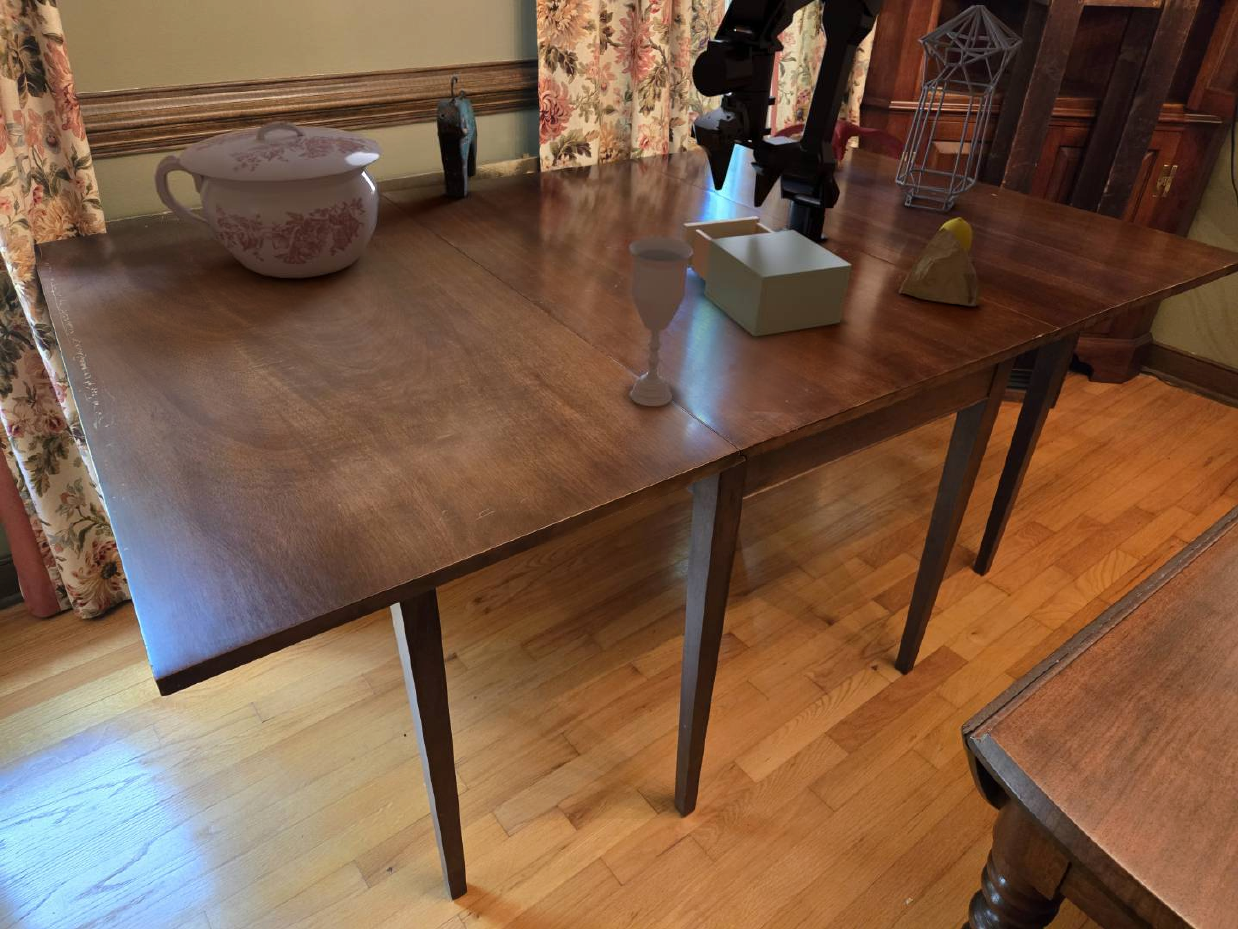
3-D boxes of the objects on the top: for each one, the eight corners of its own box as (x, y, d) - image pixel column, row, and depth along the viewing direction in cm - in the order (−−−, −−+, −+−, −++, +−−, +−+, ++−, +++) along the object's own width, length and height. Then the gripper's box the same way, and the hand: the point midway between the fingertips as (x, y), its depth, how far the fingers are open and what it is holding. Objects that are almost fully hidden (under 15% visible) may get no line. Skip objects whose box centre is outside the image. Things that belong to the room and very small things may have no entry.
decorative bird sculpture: (765, 179, 190) (771, 139, 175) (769, 143, 192) (776, 101, 177) (890, 190, 186) (907, 150, 172) (893, 153, 188) (911, 111, 174)
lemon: (966, 272, 135) (980, 224, 130) (931, 268, 135) (944, 220, 131) (961, 260, 139) (975, 213, 134) (928, 257, 140) (940, 210, 135)
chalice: (620, 380, 101) (626, 236, 90) (675, 379, 101) (687, 237, 91) (625, 411, 95) (632, 261, 84) (683, 411, 95) (698, 261, 85)
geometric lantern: (978, 203, 166) (1034, 6, 146) (959, 223, 155) (1017, 13, 135) (901, 188, 173) (945, -3, 153) (877, 207, 162) (921, 3, 142)
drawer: (666, 255, 133) (669, 213, 129) (736, 247, 138) (741, 206, 134) (720, 299, 120) (726, 254, 116) (796, 288, 124) (803, 244, 120)
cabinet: (704, 295, 123) (709, 239, 118) (784, 284, 128) (793, 229, 123) (754, 337, 112) (762, 277, 107) (840, 322, 117) (852, 264, 112)
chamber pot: (430, 251, 133) (417, 115, 121) (312, 313, 113) (282, 157, 101) (296, 220, 142) (271, 91, 130) (163, 274, 122) (119, 126, 110)
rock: (1001, 289, 123) (952, 258, 129) (997, 252, 116) (945, 221, 123) (945, 337, 124) (899, 304, 130) (937, 303, 117) (889, 270, 123)
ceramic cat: (468, 200, 155) (461, 85, 144) (434, 198, 155) (424, 83, 144) (484, 170, 171) (479, 65, 160) (453, 169, 171) (445, 64, 160)
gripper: (666, 80, 120) (659, 188, 128) (751, 106, 107) (736, 224, 116) (725, 74, 125) (714, 179, 134) (812, 99, 112) (794, 212, 121)
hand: (737, 198), depth 126 cm, fingers open, 9 cm apart
